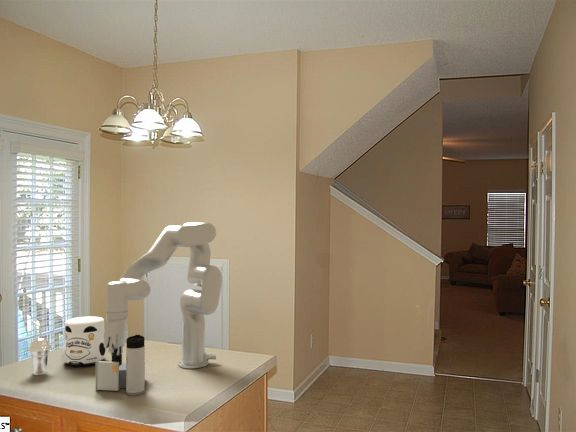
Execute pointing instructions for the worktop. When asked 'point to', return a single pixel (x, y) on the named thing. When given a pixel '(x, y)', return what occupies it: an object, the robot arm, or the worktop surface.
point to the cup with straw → (39, 353)
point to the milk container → (84, 341)
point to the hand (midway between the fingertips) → (116, 365)
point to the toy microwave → (122, 376)
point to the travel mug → (135, 365)
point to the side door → (107, 375)
